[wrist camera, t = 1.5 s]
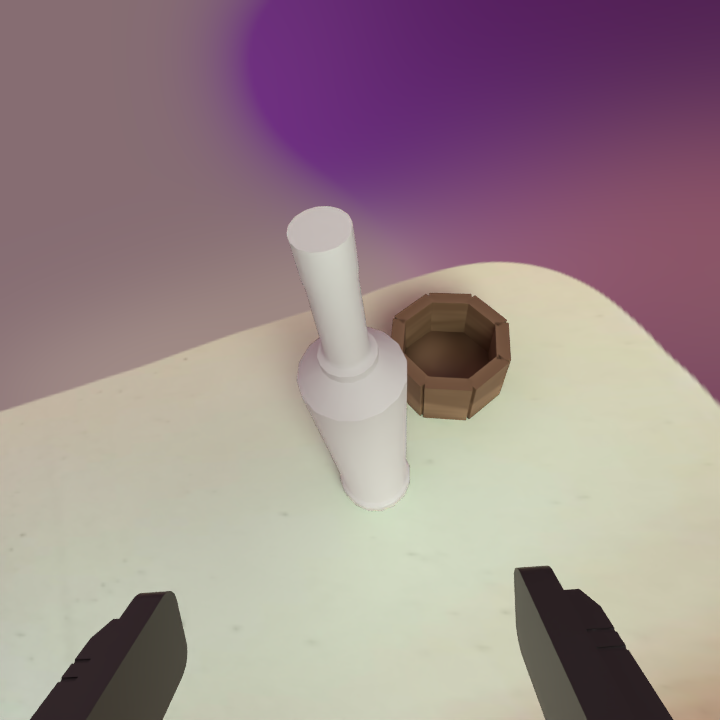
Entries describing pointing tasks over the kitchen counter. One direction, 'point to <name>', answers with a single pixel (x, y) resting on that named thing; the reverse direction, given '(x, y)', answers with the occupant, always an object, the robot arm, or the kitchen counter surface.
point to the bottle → (350, 365)
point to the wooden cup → (452, 354)
